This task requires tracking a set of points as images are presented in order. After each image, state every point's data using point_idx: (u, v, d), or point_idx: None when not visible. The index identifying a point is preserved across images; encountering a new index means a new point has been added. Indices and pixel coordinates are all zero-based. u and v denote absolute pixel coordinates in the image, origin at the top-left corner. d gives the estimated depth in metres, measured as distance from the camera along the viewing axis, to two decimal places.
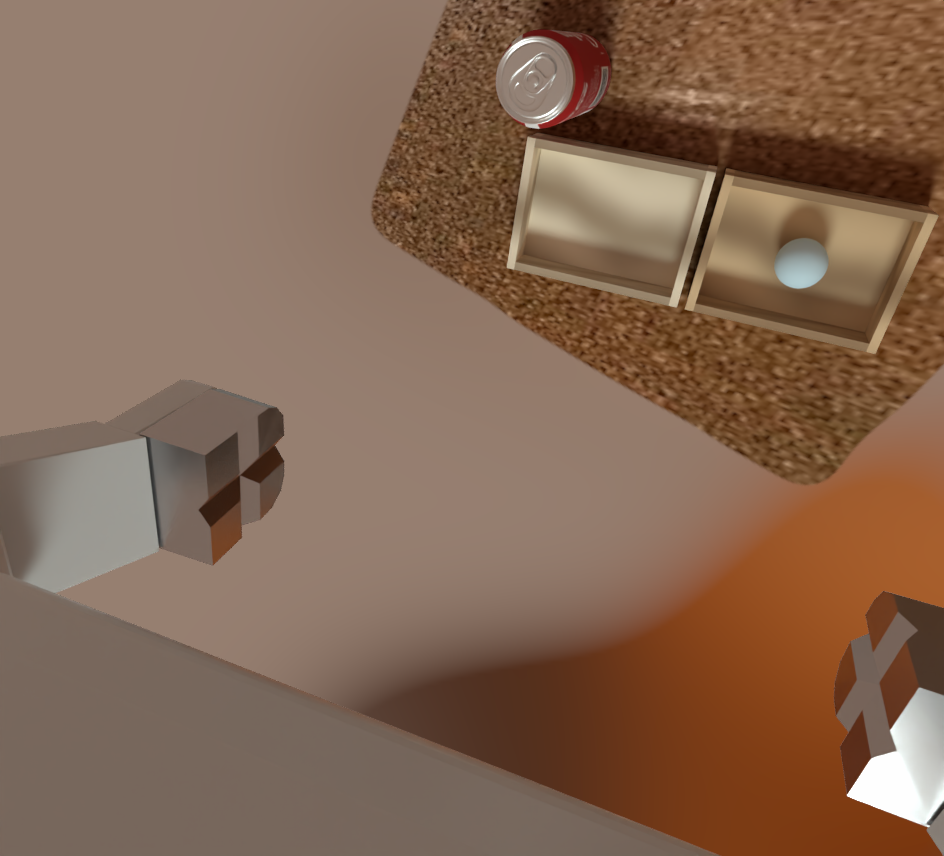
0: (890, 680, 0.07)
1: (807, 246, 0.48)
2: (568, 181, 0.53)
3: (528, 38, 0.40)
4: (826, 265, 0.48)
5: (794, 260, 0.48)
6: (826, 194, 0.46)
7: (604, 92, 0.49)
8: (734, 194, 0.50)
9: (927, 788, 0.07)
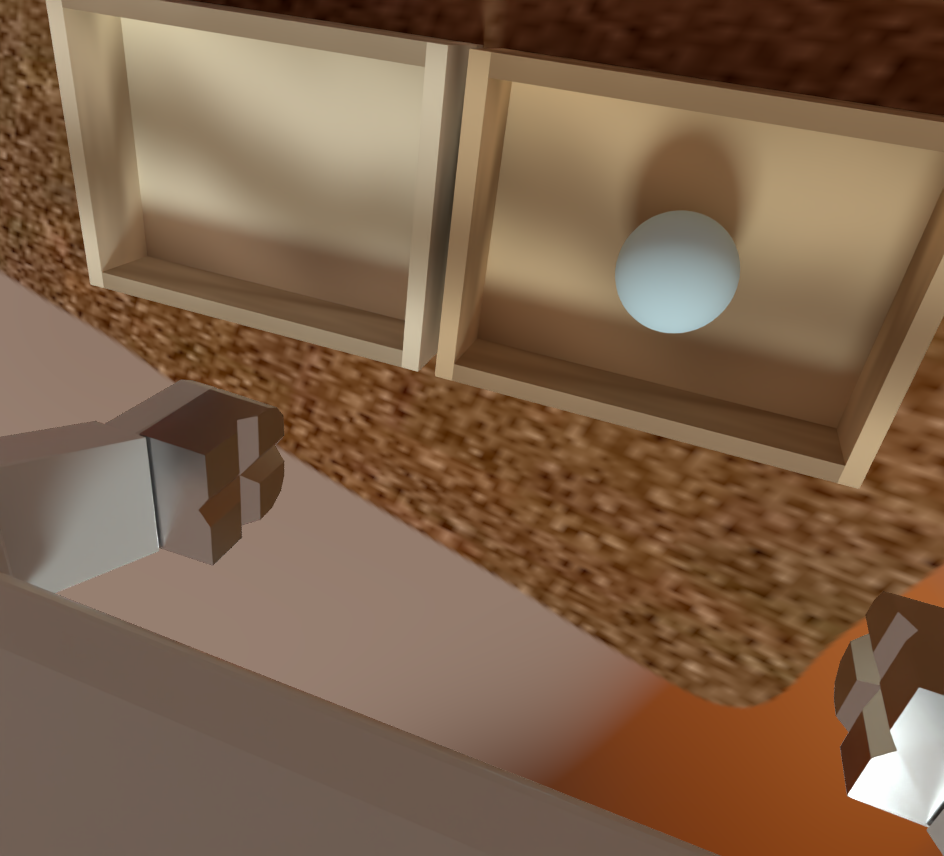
0: (890, 680, 0.07)
1: (681, 230, 0.19)
2: (187, 95, 0.24)
3: None
4: (732, 278, 0.19)
5: (650, 266, 0.19)
6: (721, 89, 0.17)
7: None
8: (522, 110, 0.21)
9: (927, 788, 0.07)
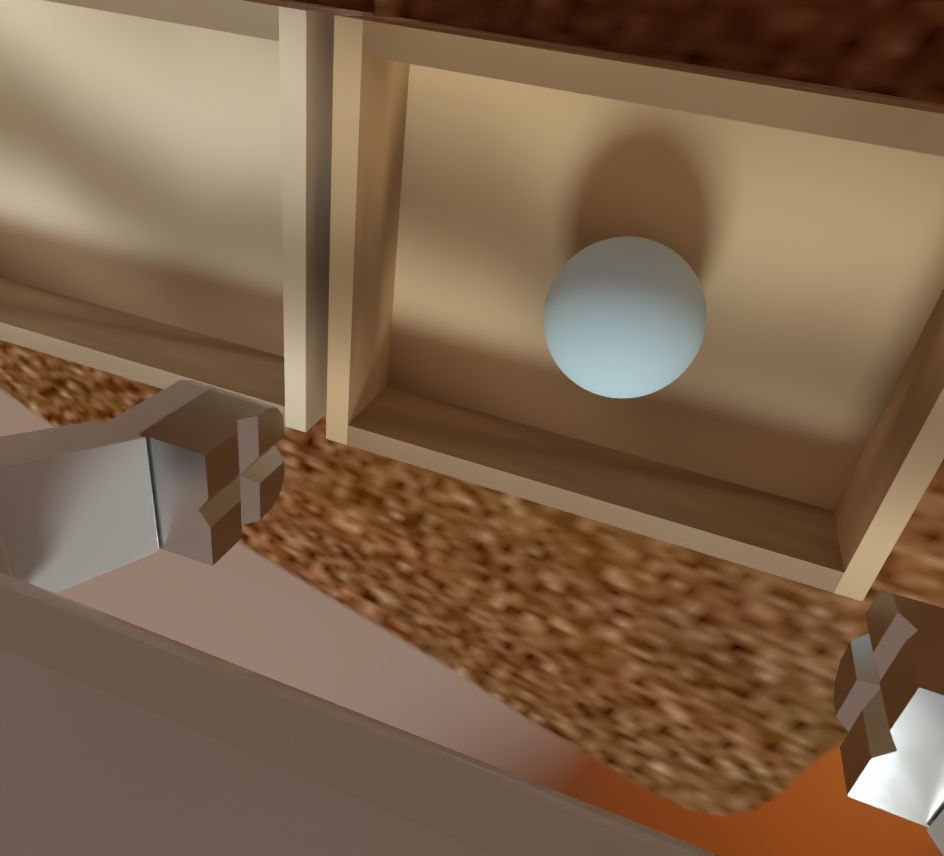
0: (890, 680, 0.07)
1: (625, 267, 0.14)
2: (17, 79, 0.19)
3: None
4: (695, 330, 0.14)
5: (583, 315, 0.14)
6: (675, 73, 0.12)
7: None
8: (425, 100, 0.16)
9: (927, 788, 0.07)
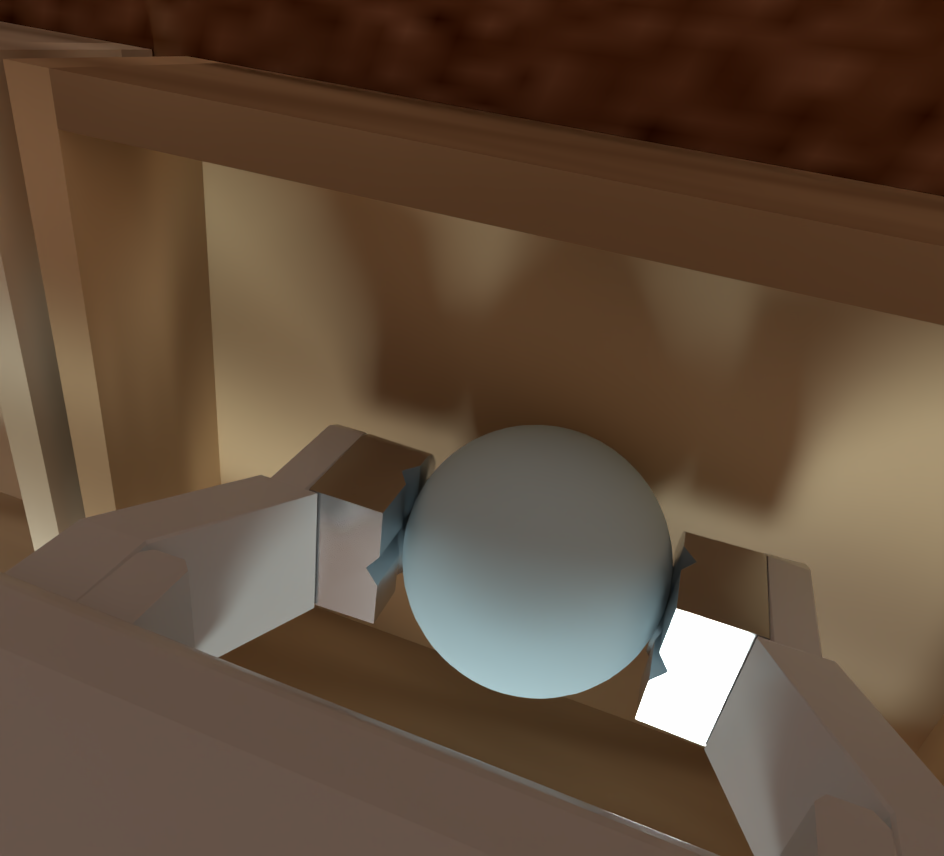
0: (669, 608, 0.08)
1: (523, 509, 0.08)
2: None
3: None
4: (650, 610, 0.08)
5: (450, 587, 0.08)
6: (600, 182, 0.06)
7: None
8: (230, 187, 0.10)
9: (699, 708, 0.08)
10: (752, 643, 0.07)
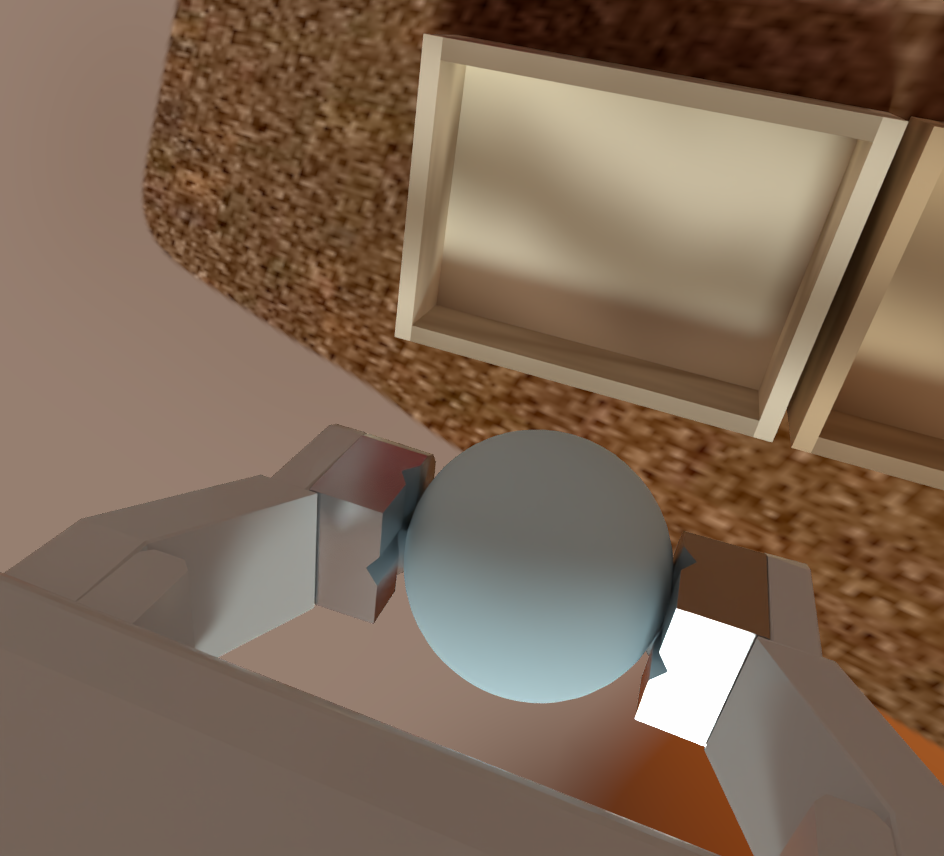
0: (668, 609, 0.08)
1: (523, 515, 0.08)
2: (527, 147, 0.23)
3: None
4: (651, 615, 0.08)
5: (452, 592, 0.08)
6: None
7: None
8: None
9: (699, 708, 0.08)
10: (752, 643, 0.07)
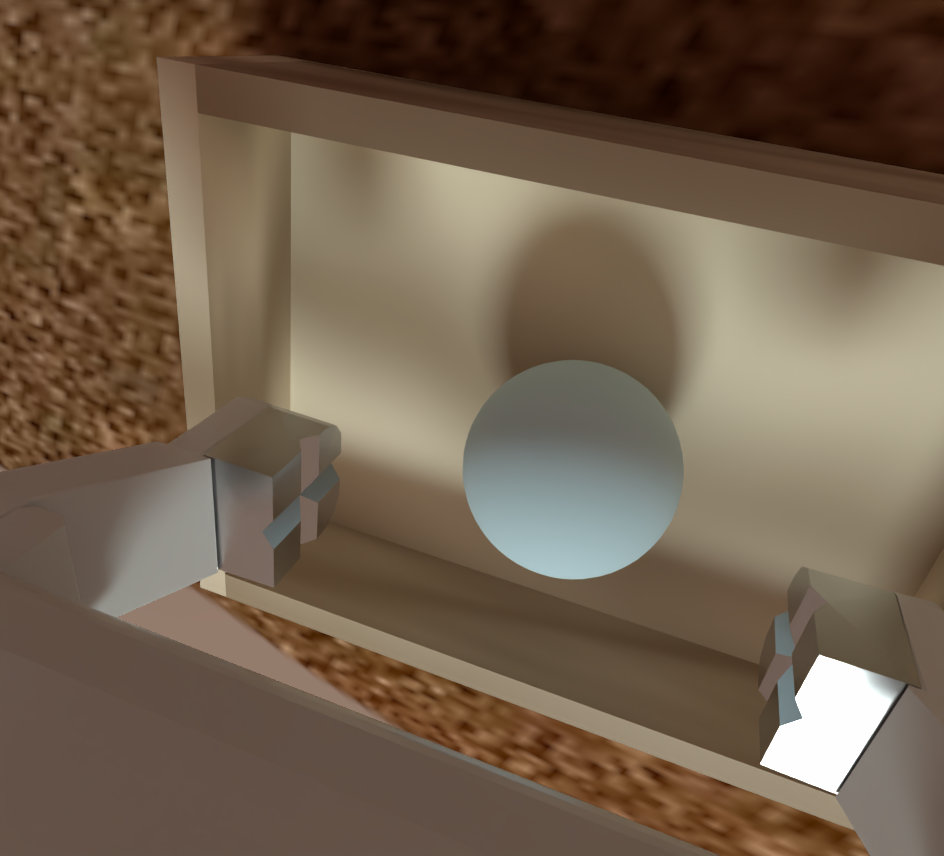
0: (799, 650, 0.08)
1: (565, 416, 0.10)
2: (415, 266, 0.12)
3: None
4: (666, 501, 0.10)
5: (507, 480, 0.10)
6: None
7: None
8: None
9: (834, 755, 0.08)
10: (901, 692, 0.07)
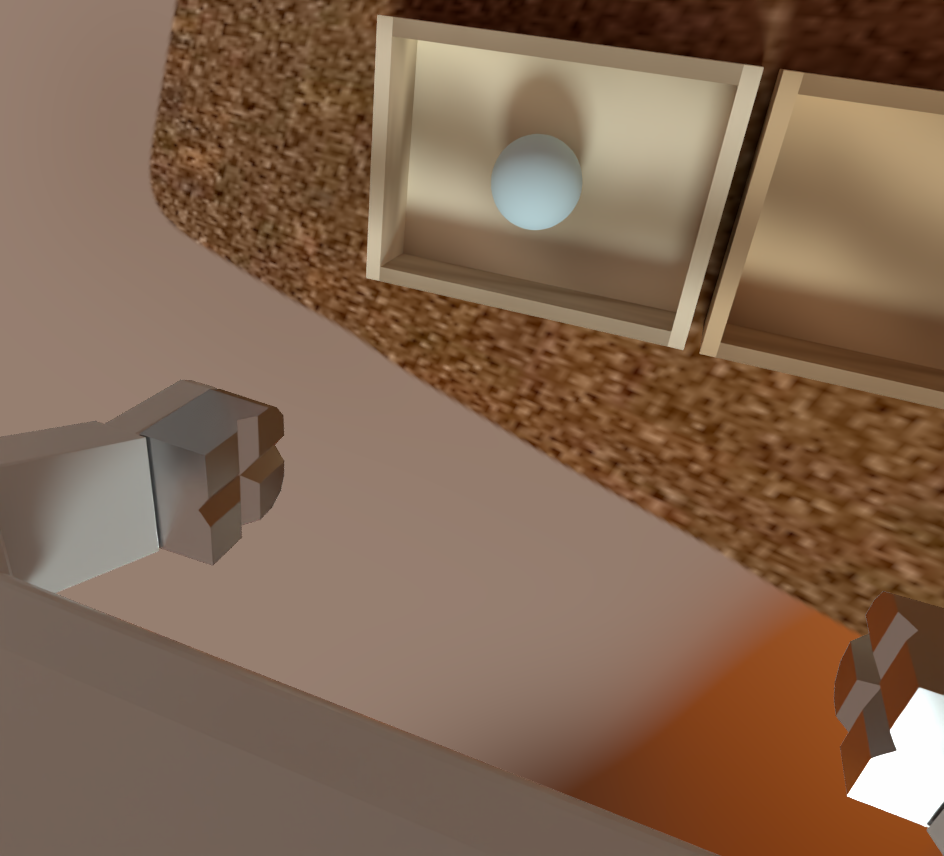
0: (890, 680, 0.07)
1: (530, 143, 0.25)
2: (471, 110, 0.28)
3: None
4: (570, 180, 0.25)
5: (507, 169, 0.25)
6: None
7: None
8: (797, 121, 0.25)
9: (927, 788, 0.07)
10: None
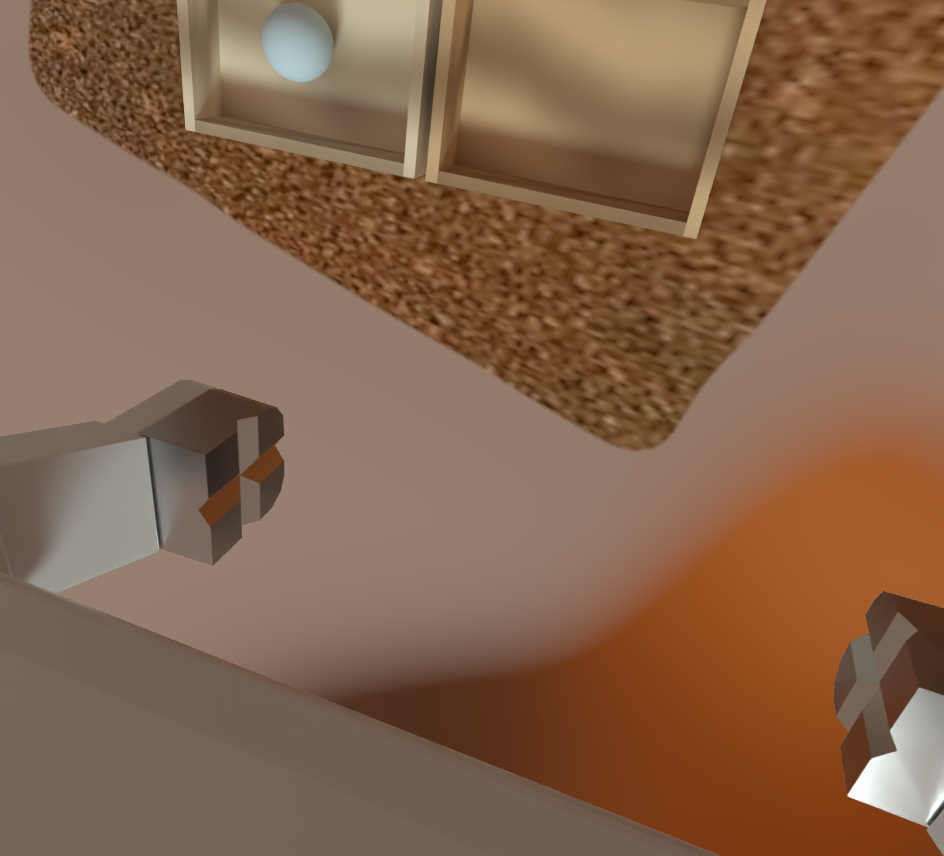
0: (890, 680, 0.07)
1: (283, 6, 0.33)
2: None
3: None
4: (312, 35, 0.33)
5: (266, 25, 0.34)
6: None
7: None
8: None
9: (927, 788, 0.07)
10: None
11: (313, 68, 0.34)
